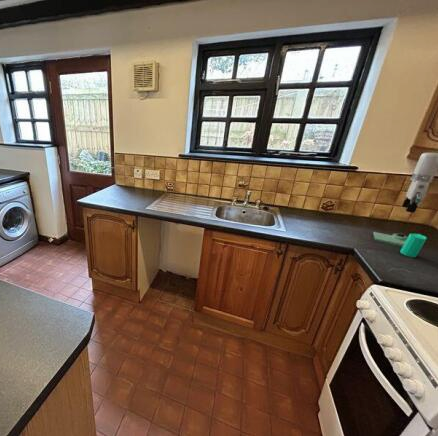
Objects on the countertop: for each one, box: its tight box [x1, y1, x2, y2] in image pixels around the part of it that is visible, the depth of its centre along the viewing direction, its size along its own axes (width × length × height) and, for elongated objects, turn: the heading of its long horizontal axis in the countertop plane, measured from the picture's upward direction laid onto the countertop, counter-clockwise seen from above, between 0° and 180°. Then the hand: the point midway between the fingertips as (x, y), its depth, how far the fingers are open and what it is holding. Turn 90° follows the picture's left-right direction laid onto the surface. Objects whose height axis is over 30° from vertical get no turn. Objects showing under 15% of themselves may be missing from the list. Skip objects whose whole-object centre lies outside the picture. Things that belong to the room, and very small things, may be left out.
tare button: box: [396, 232, 406, 237], centre depth 138 cm, size 3×3×2 cm
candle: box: [399, 232, 428, 258], centre depth 121 cm, size 6×6×12 cm
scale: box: [372, 231, 408, 248], centre depth 138 cm, size 14×12×3 cm
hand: (407, 209), depth 129 cm, fingers open, 9 cm apart
